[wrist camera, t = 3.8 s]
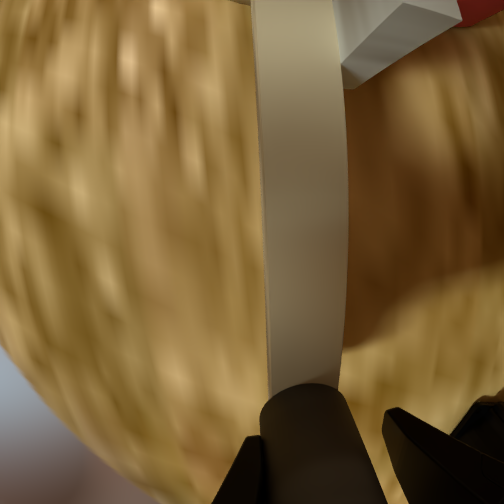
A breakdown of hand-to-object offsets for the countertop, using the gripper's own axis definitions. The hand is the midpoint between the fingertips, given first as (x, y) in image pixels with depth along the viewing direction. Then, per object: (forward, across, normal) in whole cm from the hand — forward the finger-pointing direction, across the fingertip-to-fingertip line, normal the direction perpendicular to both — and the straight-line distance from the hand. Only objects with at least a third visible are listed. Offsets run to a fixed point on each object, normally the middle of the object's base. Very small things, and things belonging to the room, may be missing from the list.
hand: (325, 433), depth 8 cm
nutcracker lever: (+4, 0, -9) cm, 10 cm away
